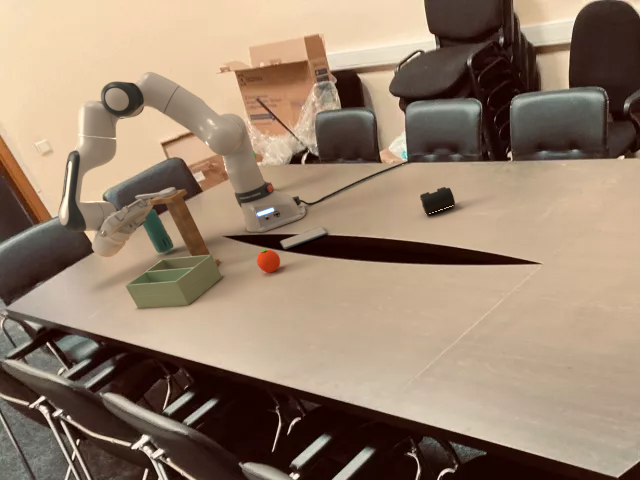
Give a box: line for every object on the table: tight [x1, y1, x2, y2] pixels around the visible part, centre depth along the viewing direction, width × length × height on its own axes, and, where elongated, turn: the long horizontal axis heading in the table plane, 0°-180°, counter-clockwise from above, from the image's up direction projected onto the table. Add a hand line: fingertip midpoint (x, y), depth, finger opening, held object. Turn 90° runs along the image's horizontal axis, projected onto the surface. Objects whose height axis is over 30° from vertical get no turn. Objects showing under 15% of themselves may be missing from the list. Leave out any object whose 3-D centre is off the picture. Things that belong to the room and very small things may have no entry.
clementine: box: [256, 248, 281, 273], centre depth 222 cm, size 8×7×7 cm
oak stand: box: [150, 188, 221, 266], centre depth 233 cm, size 9×7×26 cm
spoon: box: [134, 186, 177, 201], centre depth 227 cm, size 16×5×1 cm, turn 73°
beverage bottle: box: [142, 208, 175, 254], centre depth 257 cm, size 6×7×20 cm
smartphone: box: [279, 226, 328, 250], centre depth 241 cm, size 8×1×15 cm
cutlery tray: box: [124, 253, 223, 309], centre depth 224 cm, size 20×18×8 cm
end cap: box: [419, 186, 456, 217], centre depth 233 cm, size 10×7×7 cm
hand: (137, 202), depth 231 cm, fingers open, 8 cm apart
